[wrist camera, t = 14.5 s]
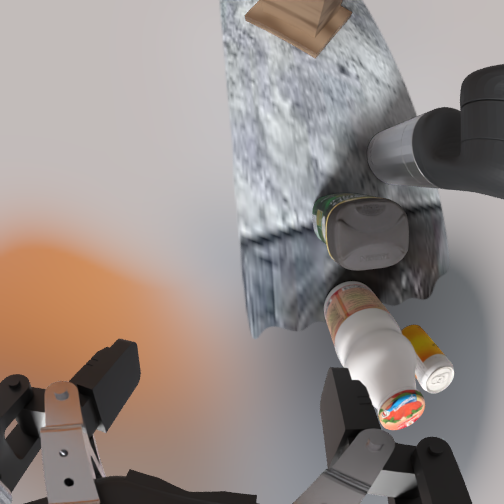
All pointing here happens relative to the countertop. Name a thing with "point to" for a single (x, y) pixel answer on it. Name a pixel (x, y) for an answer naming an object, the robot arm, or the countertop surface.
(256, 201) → the countertop surface
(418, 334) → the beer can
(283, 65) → the countertop surface
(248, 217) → the countertop surface
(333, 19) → the walnut stand
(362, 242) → the coffee jar
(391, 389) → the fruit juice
